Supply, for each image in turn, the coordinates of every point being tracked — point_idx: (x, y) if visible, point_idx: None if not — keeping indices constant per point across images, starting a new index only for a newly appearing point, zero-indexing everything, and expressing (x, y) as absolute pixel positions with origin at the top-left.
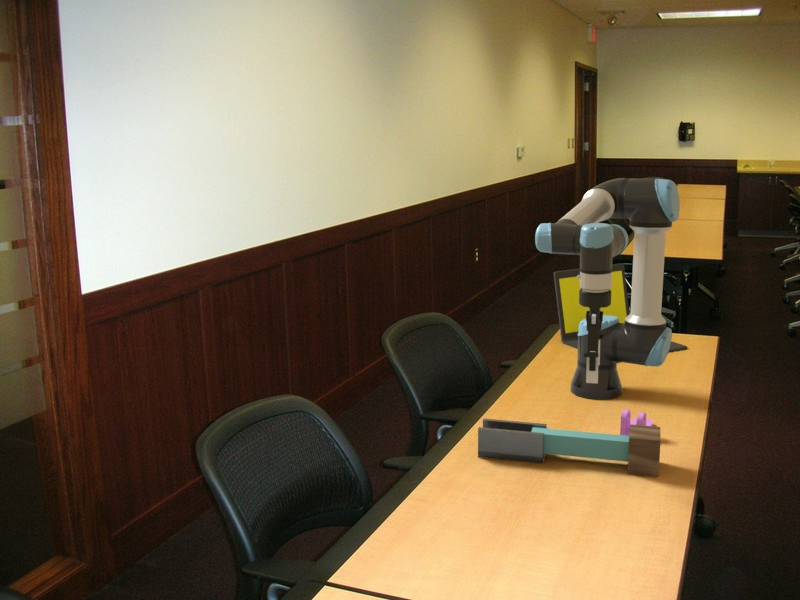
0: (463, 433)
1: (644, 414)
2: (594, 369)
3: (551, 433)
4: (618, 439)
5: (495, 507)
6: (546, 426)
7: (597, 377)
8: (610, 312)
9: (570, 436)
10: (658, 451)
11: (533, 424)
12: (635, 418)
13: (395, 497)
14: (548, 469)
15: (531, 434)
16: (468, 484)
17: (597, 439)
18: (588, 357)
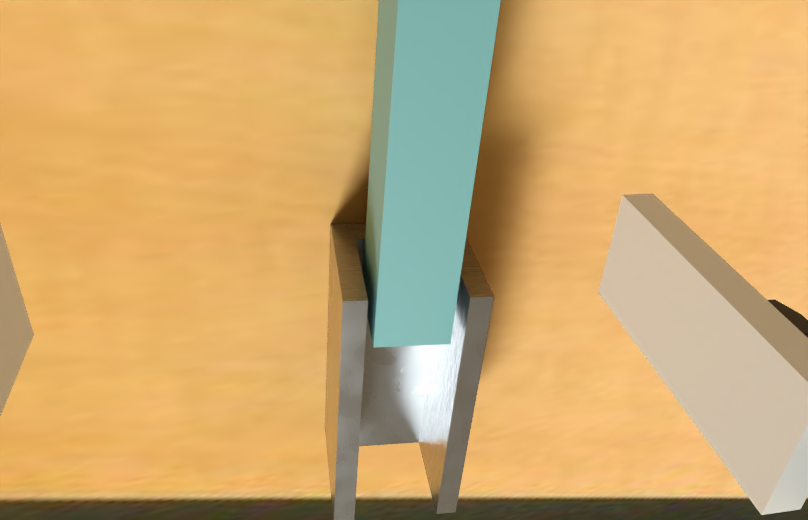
0: (222, 504)
1: None
2: (795, 320)
3: (442, 263)
4: None
5: (799, 306)
6: (359, 296)
7: (684, 230)
8: None
9: (472, 173)
10: None
11: (363, 353)
12: None
13: (710, 515)
14: (510, 194)
15: (485, 340)
16: (640, 399)
17: (496, 24)
18: (805, 484)
